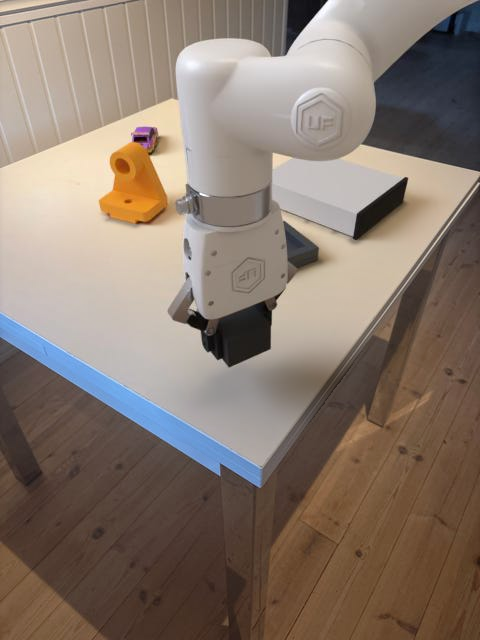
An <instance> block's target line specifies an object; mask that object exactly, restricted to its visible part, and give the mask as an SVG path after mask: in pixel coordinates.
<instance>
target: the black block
mask: <svg viewBox="0 0 480 640" xmlns="http://www.w3.org/2000/svg"><path fill="white" fill-rule="evenodd" d="M217 328H218V329H219V331H220V332H221V338H222V351H223V357H222V359H221V360H222V361H223V362H224V364H225V365H226V366H227V368H232V367H234V366H236V365H238V364H241V363H243V362H245V361H247V360H250V359H252V358H255V357H257V356H259V355H261V354H263V353H265V352H268V351H270V350H272V326H271V323H270V321H269V320H268V319H267V318H266V317H265V316H264V315H263V314H262V313H261V312H260V311H259V310H258V309H257V308H256V307H255V306H254V305H252V306H249V307H247V308H244V309H242V310H239V311H237V312H234V313H232V314H229V315H226V316H224V317H221V318H219V322H218V326H217Z"/></svg>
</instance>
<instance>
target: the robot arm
mask: <svg viewBox="0 0 480 640" xmlns="http://www.w3.org/2000/svg"><path fill="white" fill-rule="evenodd" d="M478 1H479V0H327V1H326V2H325V4H324V5H322V7H321V8H320V9H319V10H318V11H317V13H315V15H314V16H313V18H312V19H311V20H310V21H309V22H308V23H307V25H306V26H305V27H304V28H303V29H302V31H301V32H300V33H299V34H298V36H297V37H296V39H295V40H294V41H293V43H292V44H291V46H290V47H289V49H288V51H287V53H286V55H281V56H280V55H279V56H272V55H271V53H270V51H269V50H268V48H266V47H265V46H264V45H263V44H262V43H260V42H257V41H254V40H251V39H247V38H237V37H235V38H234V37H229V38H228V37H226V38H225V37H224V38H223V37H222V38H213V39H205V40H199V41H197V42H194V43H192V44H190V45H187V46H186V47H184V49H183V50H181V51H180V52H179V54H178V56H177V59H176V61H175V62H176V63H175V83H176V91H177V101H178V109H179V119H180V128H181V137H182V146H183V155H184V162H185V163H184V164H185V170H186V172H185V173H186V179H187V183H186V184H185V195H183V196H182V197H181V198H178V199H175V201H174V206H175V210H176V212H177V214H178V215H179V216H183V215H185V216H184V221H183V229H182V243H181V244H182V245H181V246H182V247H181V253H182V255H181V257H182V259H181V261H182V277H183V285H182V286H181V288H180V290H179V291H178V293H177V294H176V296H175V297H174V299H173V300H172V302H171V303H170V305H169V307H168V308H167V311H166V312H167V314H168V315H169V317H170V318H171V319H172V321H173V322H177V323H180V324H183V325H188V326H189V327H190V328H193V329H196V330H198V331H200V338H201V339H200V340H201V344H202V347H203V349H204V350H205V352H206V353H211V354H212V355H213V357H214V358H215V360H217V361H220V360H222V357H223V351H222V338H221V332H220V331H219V329H218V328H217V326H218V322H219V318H221V317H224V316H226V315H229V314H232V313H234V312H237V311H239V310H242V309H244V308H247V307H249V306H252V305H254V306H255V307H256V308H257V309H258V310H259V311H260V312H261V313H262V314H263V315H264V316H265V317H266V318H267V319H268V320H269V321H270V323H271V327H272V325H273V311H274V310H276V308H277V307H278V299H280V297H281V296H282V294H283V293H284V292H285V290H286V289H287V285H288V284H289V283H290V282H291V281H292V280H293V278H294V277H295V276H296V275H297V274H298V268H296V267H295V266H293V265H292V264H291V263H290V262H289V261H287V246H286V236H285V229H284V224H283V221H284V219H283V214H282V209H280V206H279V204H278V203H277V202H276V201H274V200H272V171H273V169H274V168H273V163H274V162H273V160H274V159H273V158H274V157H273V156H274V155H273V154H276V155H281V156H285V157H289V158H297V159H302V160H309V161H330V160H335V159H341V158H344V157H346V156H348V155H350V154H351V153H353V152H354V151H355V150H357V149H358V148H359V147H360V146H361V145H362V144H363V143H364V141H365V140H366V138H367V137H368V135H369V134H370V132H371V129H372V127H373V125H374V124H373V123H374V121H375V116H376V110H377V99H376V91H375V90H376V89H375V84H374V83H375V82H376V81H377V80H378V79H379V78H380V77H381V76H382V75H383V74H384V73H386V71H387V70H388V69H389V68H391V66H392V65H393V64H394V63H395V62H397V60H399V59H400V58H401V57H402V56H403V55H404V54H405V53H406V52H407V51H408V50H410V48H411V47H412V46H414V45H415V44H416V42H418V41H419V40H420V39H421V38H422V37H424V35H426V34H427V33H428V32H430V31H431V30H432V29H433V28H434V27H436V26H437V25H438V24H440V23H442V22H443V21H444V20H446V19H447V18H448V17H450V16H452V15H453V14H455V13H456V12H458V11H460V10H461V9H463V8H465V7H467V6H469V5H471V4H473V3H476V2H478ZM193 302H194V303H195V306H196V309H195V310H194V309H192V308H190V307H191V305H192V304H193Z"/></svg>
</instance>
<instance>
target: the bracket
mask: <svg viewBox="0 0 480 640" xmlns="http://www.w3.org/2000/svg"><path fill="white" fill-rule="evenodd" d="M149 154H150V153H148V152H147V150H146V149H145V148H144V147H143V146H142V145H141V144H139V143H136V142H132V141H131V142H129V143H127V144H125V145H123V146H122V147H120V148H119V149H117V150H116V151H114V152H113V153H111V155H110V156H109V166H110V169H111V171H112V173H113V174H114V179H113V186H112V190H110V191H109V192H108V193H107V194H105V195H104V196H102V197H101V198H99V199H98V204H99V205H98V206H99V209H100V211H101V212H102V213H106V214H109V217H110V218H111V219H116V220H119V221H123V222H126V223H127V222H128V223H131V224H137V223H138V222H143V223H145V222H150V221H151V220H152V219H153V218H154V217H155V216H157V214H159V213H160V212H161V211H163V210H164V209H165V208H166V207H168V205H169V202H168V195H167V193H166V191H165V189H164V186H163V184H162V181H161V179H160V177H159V175H158V172H157V170H156V168H155V165H154V163H153V161H152V159H151V156H150V155H149Z"/></svg>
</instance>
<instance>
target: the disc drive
mask: <svg viewBox="0 0 480 640" xmlns="http://www.w3.org/2000/svg"><path fill="white" fill-rule="evenodd" d="M408 181H409V177H408V176H404V177H402V176H398V175H394V174H391V173H388V172H385V171H381V170H378V169H375V168H371V167H368V166H365V165H361V164H358V163H354V162H351V161H348V160H345V159H341V158H339V159H335V160H330V161H309V160H302V159H297V158H293V157H291V158H290V159H288V160H286V161H285V162H283V163H280V164H279V165H277V166H275V167H274V168H273V171H272V200H274V201H276V202H277V203H278V204H279V206H280V210H282V211H285V212H288V213H290V214H293V215H296V216H299V217H301V218H303V219H306V220H308V221H311V222H314V223H316V224H319V225H322V226H324V227H326V228H329V229H332V230H334V231H337V232H338V233H339V232H340V233H342V234H345V235H347V236H350V237H352V239H353V240H354V241H357V240H358V239H360V237H362V236H363V235H364V234H365V233H366V232H367V231H369V230H370V229H372V228H373V227H374V226H375V225H376V224H378V223H379V222H380V221H382V220H383V219H384V218H385V217H386V216H388V215H389V214H390V213H392V211H394V210H395V209H396V208H397V207H399V206H400V205H401V204H402V203H404V201H405V195H406V191H407V186H408Z"/></svg>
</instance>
